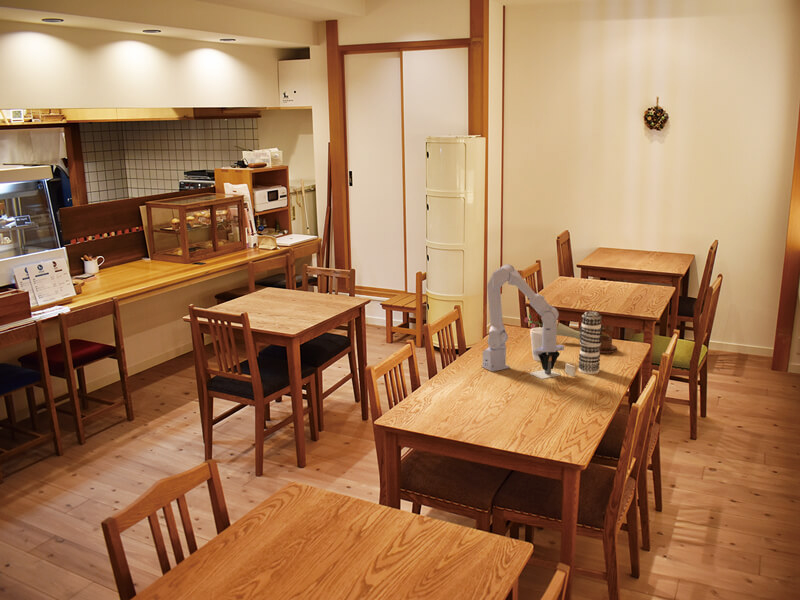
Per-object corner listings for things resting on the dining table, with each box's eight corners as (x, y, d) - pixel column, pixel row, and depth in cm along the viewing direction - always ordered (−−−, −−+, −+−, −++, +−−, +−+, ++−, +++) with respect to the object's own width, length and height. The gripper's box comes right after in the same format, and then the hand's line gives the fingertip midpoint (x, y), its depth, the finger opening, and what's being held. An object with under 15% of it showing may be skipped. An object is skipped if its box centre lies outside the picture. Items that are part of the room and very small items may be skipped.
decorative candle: (574, 372, 296) (577, 314, 290) (580, 365, 304) (583, 309, 298) (597, 375, 292) (600, 316, 286) (602, 368, 300) (605, 311, 294)
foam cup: (552, 362, 308) (554, 333, 305) (531, 362, 309) (532, 333, 306) (548, 355, 318) (549, 327, 315) (528, 355, 318) (529, 327, 315)
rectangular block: (574, 376, 291) (575, 366, 290) (573, 376, 291) (573, 367, 290) (566, 372, 296) (567, 363, 295) (565, 372, 295) (565, 363, 294)
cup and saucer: (617, 356, 316) (618, 342, 315) (590, 354, 319) (590, 341, 317) (615, 347, 328) (616, 335, 326) (588, 346, 330) (589, 333, 329)
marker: (547, 374, 292) (547, 358, 290) (543, 372, 294) (543, 356, 293) (552, 373, 293) (553, 357, 292) (548, 371, 296) (549, 355, 294)
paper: (541, 379, 288) (541, 378, 288) (529, 373, 295) (529, 372, 295) (560, 375, 292) (560, 374, 292) (548, 369, 299) (548, 368, 299)
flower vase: (590, 362, 331) (517, 339, 340) (595, 348, 340) (524, 326, 350) (596, 342, 324) (522, 320, 333) (601, 328, 333) (528, 306, 343)
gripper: (541, 342, 284) (539, 374, 287) (569, 337, 290) (568, 369, 293) (530, 338, 290) (529, 369, 293) (558, 333, 296) (557, 364, 299)
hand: (547, 369), depth 294 cm, fingers closed on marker, 3 cm apart
